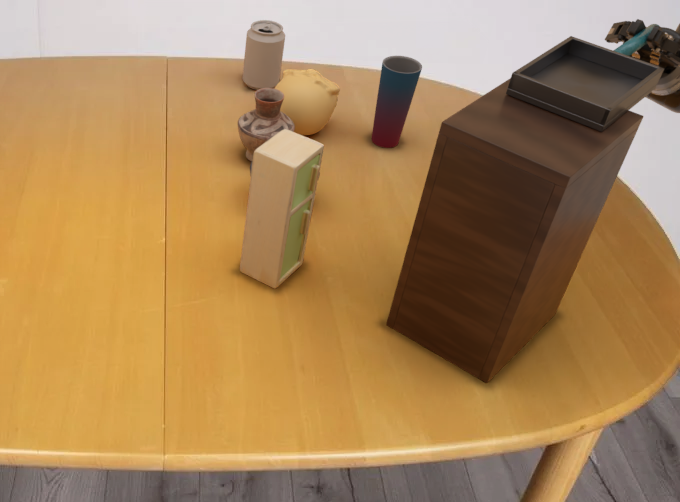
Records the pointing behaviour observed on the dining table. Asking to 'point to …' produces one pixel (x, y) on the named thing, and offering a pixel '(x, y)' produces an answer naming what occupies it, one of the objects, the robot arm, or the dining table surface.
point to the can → (263, 54)
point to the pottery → (263, 121)
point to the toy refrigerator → (280, 206)
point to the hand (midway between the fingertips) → (644, 30)
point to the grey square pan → (587, 80)
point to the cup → (394, 99)
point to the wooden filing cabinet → (502, 227)
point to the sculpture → (307, 99)
